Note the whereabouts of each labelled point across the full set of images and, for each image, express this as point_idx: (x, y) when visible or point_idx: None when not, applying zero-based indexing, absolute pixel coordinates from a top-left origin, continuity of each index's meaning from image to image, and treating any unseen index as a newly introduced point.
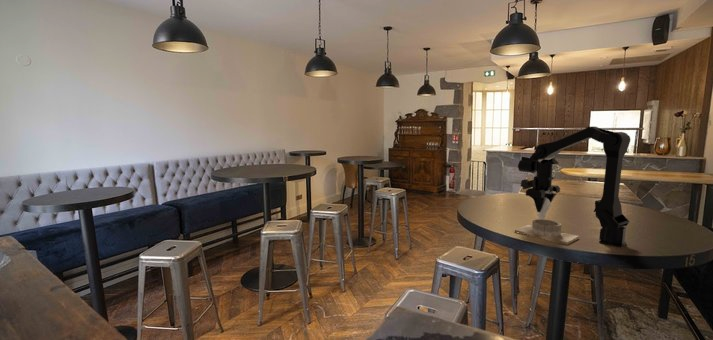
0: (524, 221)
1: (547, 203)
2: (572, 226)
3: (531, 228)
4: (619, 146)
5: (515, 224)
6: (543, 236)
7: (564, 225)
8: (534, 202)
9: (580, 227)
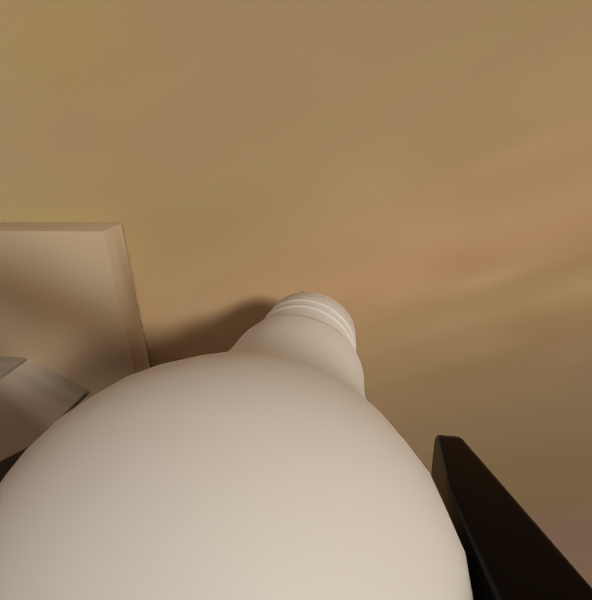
0: (361, 20)
1: None
2: (573, 529)
3: (20, 323)
4: None
5: (84, 35)
6: None
7: (558, 469)
8: (44, 446)
9: (586, 581)
